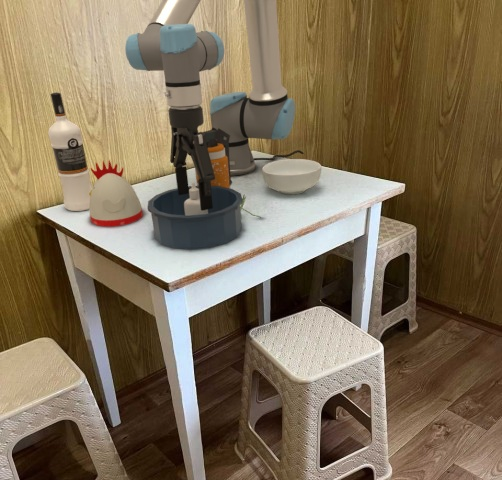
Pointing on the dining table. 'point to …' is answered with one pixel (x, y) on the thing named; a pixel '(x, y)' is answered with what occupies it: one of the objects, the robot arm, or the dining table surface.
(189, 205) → the eye dropper bottle
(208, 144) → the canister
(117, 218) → the kitchen timer
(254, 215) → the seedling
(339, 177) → the dining table surface
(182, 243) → the basin
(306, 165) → the cereal bowl
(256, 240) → the dining table surface
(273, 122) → the robot arm
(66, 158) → the vodka
